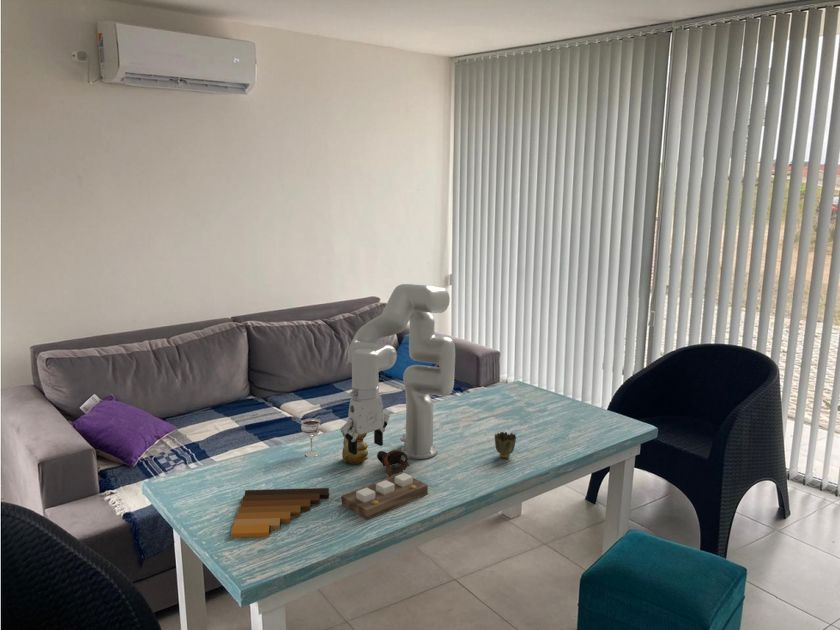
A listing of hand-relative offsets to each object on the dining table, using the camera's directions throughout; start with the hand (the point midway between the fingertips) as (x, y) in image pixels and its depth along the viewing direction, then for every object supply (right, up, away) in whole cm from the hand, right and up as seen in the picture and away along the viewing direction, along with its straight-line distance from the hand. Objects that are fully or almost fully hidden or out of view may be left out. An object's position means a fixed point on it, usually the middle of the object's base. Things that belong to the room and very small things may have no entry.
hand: (365, 448), depth 204 cm
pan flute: (-24, -20, -1) cm, 31 cm away
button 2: (+11, -13, +13) cm, 22 cm away
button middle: (+5, -15, +8) cm, 18 cm away
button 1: (0, -16, +3) cm, 16 cm away
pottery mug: (+7, -13, +29) cm, 33 cm away
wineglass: (-22, -10, +42) cm, 48 cm away
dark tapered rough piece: (+45, -11, +40) cm, 61 cm away
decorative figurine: (-7, -11, +36) cm, 38 cm away
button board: (+5, -17, +9) cm, 20 cm away
